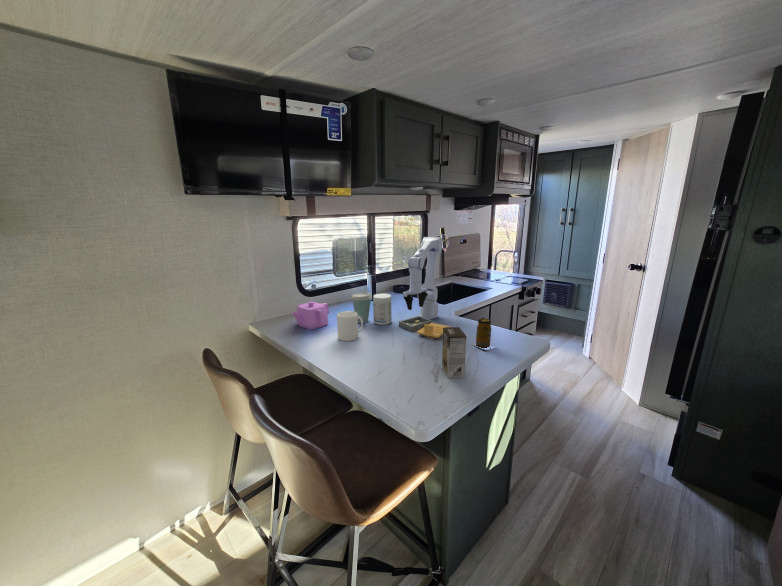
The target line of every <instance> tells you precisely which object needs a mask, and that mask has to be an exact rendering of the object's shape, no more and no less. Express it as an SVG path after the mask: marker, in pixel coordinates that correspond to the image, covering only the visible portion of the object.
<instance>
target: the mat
mask: <svg viewBox="0 0 782 586" xmlns="http://www.w3.org/2000/svg"><path fill="white" fill-rule="evenodd" d="M420 335H421V336H423V337H425V338H428V339H430V340H436V339H437V338H435V337H431V336H426V335H422V334H420ZM441 337H442V338H443V335H441V336H440V337H439V338H441Z"/></svg>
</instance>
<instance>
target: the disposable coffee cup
mask: <svg viewBox="0 0 782 586" xmlns="http://www.w3.org/2000/svg"><path fill="white" fill-rule="evenodd" d="M351 300H352V306H353V312H356V313H357V316H360V317H361V318H362V321H363V324H364V323H367V322H368V321H369V316H370V309H371V301H372V295H371V293H370V292H359V293H358V292H357V293H354V294H352V296H351ZM358 323H361V320H360V319H358Z"/></svg>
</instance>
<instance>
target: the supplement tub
mask: <svg viewBox="0 0 782 586" xmlns="http://www.w3.org/2000/svg"><path fill="white" fill-rule="evenodd" d="M372 301H373V302H372V307H373V322H374V324H376V325H378V326H380V325H381V326H387V325H389V324H391V323H392V318H393V317H392V295H391V294H389V293H376V294H374V295H373V297H372Z"/></svg>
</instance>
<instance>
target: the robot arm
mask: <svg viewBox="0 0 782 586" xmlns="http://www.w3.org/2000/svg"><path fill="white" fill-rule="evenodd" d="M442 250H443V239H442V237H435V236H434V237H432V236H428V237H427V236H423V239H422V244H421V248H419V249H417V250H416V252H415V253H414V255H413V256H411V257H409V259H408V261H407V267H408V272H409V289H408V290H406V291H403V292H402V297H403V299H404V301H405V304H406V306H407V308H406V309H407V310H409V311H412V309H413V300H414V297H413V295H417V300H418V307H420V314H419V315H418V316H421V317H424V318H426V319H429V320H432V319H436V318H439V317H440V315H439V304H438V302H437V300H438V292H439V291H438V288H437V287H436V285H434V281H435V274H436V269H437V262H438V257H439V255H441V254H442ZM427 257H428V259H427ZM426 259H427V265H426V270H425V272H426V273H425V277H424V283H422V281H423V279H422V278H423V277H422V276H423V275H422V273H423V271H422V270H423V268H424V265H425V261H426Z"/></svg>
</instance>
